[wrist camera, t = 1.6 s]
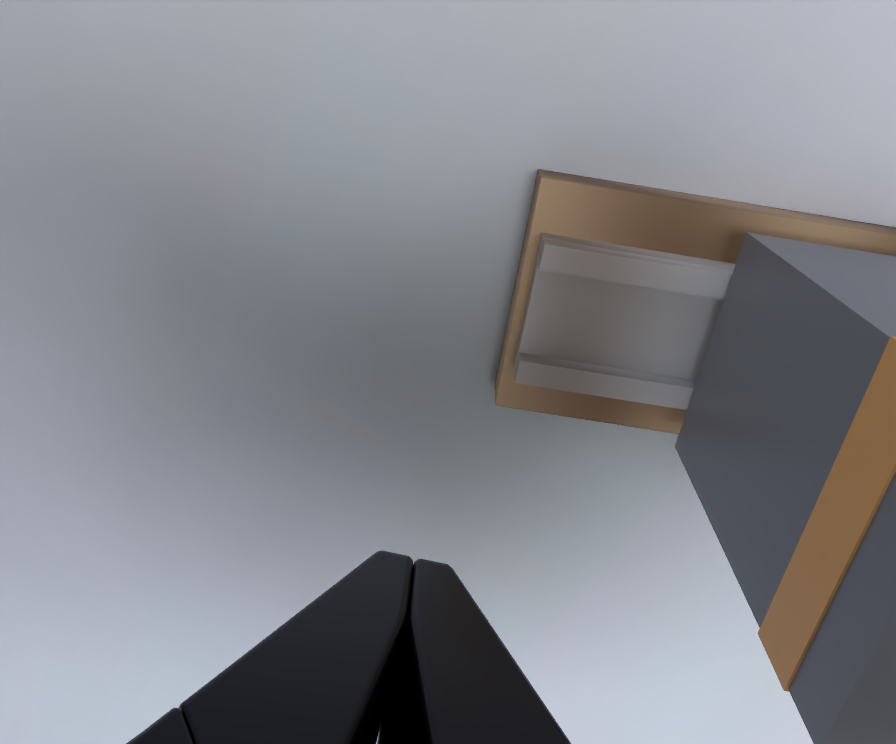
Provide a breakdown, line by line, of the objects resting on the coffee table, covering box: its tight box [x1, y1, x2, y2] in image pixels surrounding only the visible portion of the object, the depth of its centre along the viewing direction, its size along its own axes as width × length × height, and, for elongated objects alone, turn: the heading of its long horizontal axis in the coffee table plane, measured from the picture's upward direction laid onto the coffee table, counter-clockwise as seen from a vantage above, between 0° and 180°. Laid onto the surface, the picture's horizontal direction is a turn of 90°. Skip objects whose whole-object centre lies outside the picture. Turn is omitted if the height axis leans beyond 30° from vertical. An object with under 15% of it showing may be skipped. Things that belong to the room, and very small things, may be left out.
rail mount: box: [495, 169, 896, 434], centre depth 17 cm, size 18×6×6 cm, turn 81°
